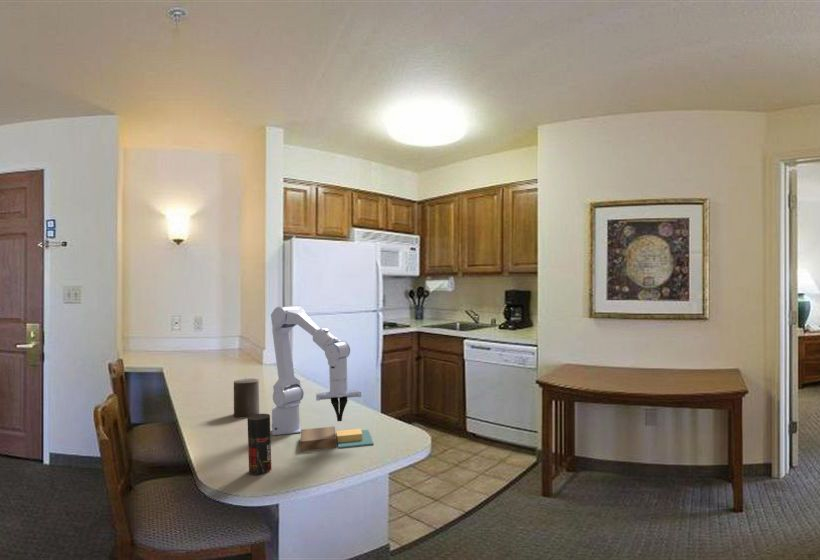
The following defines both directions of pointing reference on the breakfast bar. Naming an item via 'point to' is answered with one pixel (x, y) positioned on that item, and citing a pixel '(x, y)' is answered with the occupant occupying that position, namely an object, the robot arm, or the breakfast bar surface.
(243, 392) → the pillar candle
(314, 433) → the brown flat block
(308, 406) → the breakfast bar surface
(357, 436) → the tile
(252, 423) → the deodorant
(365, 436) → the mat
